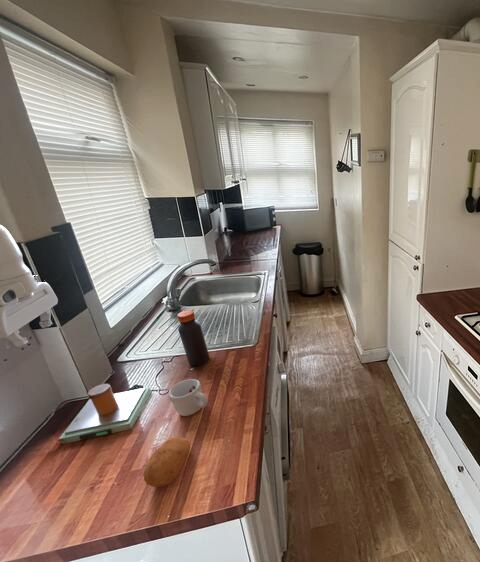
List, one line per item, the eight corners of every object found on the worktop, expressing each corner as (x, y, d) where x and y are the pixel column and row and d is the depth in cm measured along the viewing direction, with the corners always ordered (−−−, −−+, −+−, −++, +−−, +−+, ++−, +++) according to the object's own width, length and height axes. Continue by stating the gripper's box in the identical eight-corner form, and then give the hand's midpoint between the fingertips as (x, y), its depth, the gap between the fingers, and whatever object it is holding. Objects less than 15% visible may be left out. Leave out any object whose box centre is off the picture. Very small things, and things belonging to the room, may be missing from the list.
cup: (219, 403, 93) (213, 382, 90) (199, 424, 86) (192, 402, 83) (191, 397, 96) (184, 376, 93) (169, 416, 89) (161, 395, 86)
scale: (60, 446, 80) (56, 439, 79) (92, 404, 94) (88, 397, 93) (130, 430, 84) (127, 423, 83) (151, 392, 98) (148, 385, 97)
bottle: (200, 368, 109) (185, 319, 101) (184, 365, 111) (169, 317, 103) (214, 357, 115) (201, 309, 107) (199, 354, 117) (185, 307, 109)
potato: (142, 499, 67) (128, 475, 65) (171, 452, 79) (161, 430, 77) (175, 491, 68) (163, 467, 65) (199, 445, 80) (190, 423, 78)
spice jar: (93, 417, 86) (83, 397, 83) (102, 404, 90) (93, 385, 87) (113, 412, 87) (104, 393, 84) (121, 401, 91) (113, 381, 89)
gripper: (24, 274, 84) (47, 318, 89) (-45, 306, 66) (-12, 359, 71) (53, 271, 85) (73, 315, 91) (-7, 302, 67) (22, 354, 73)
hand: (35, 335), depth 81 cm, fingers open, 8 cm apart
